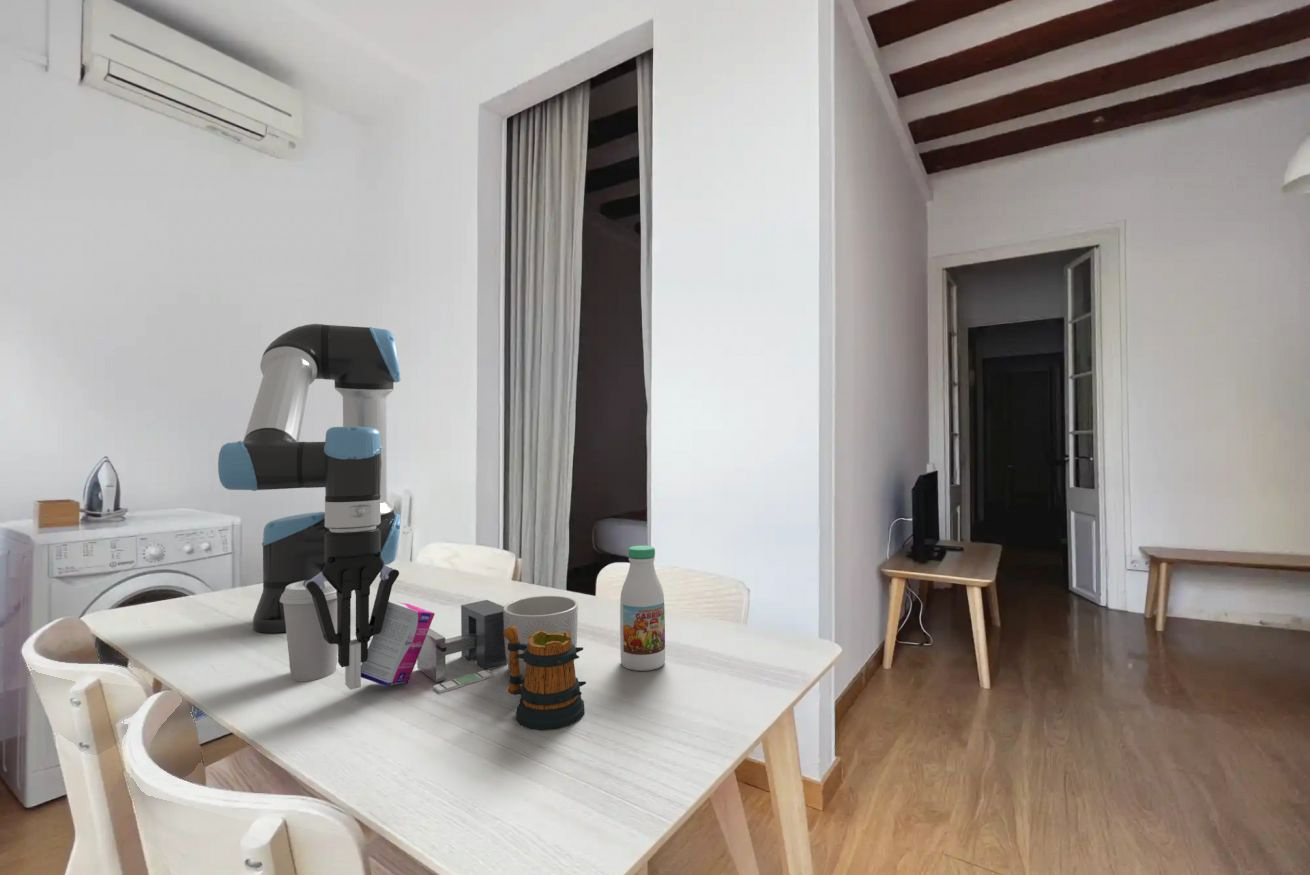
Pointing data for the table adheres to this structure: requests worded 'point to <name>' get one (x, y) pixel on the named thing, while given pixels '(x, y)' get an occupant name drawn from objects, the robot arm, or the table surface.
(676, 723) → the table surface
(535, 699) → the mug
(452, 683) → the strip
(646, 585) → the milk bottle
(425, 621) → the supplement box
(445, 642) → the grey block with crossbar
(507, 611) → the planter
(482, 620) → the box
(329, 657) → the coffee cup
